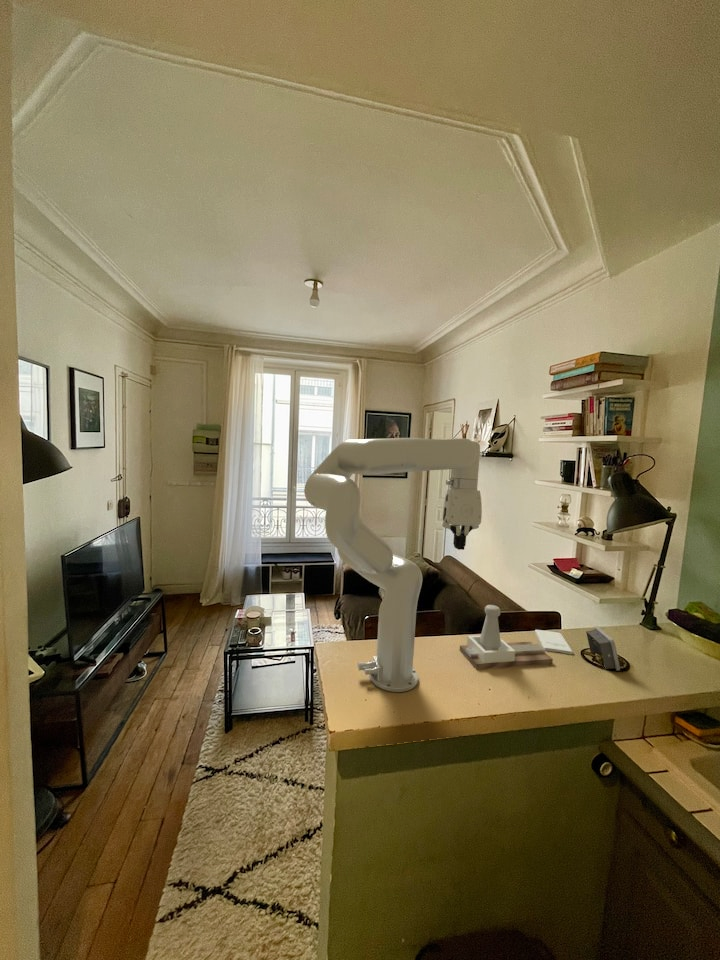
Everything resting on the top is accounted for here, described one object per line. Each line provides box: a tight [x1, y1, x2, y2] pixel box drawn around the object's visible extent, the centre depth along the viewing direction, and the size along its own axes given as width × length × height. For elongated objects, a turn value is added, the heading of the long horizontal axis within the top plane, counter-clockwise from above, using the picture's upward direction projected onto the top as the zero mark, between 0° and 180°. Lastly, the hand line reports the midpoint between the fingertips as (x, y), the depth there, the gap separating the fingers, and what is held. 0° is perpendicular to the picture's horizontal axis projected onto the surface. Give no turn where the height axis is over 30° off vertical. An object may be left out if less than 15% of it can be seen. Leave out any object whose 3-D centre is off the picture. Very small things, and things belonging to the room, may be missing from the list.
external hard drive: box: [534, 629, 574, 655], centre depth 120 cm, size 2×8×12 cm
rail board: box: [459, 641, 553, 670], centre depth 110 cm, size 24×10×2 cm, turn 101°
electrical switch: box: [585, 625, 621, 672], centre depth 109 cm, size 9×5×9 cm, turn 174°
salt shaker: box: [480, 604, 501, 651], centre depth 108 cm, size 6×6×13 cm
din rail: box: [465, 643, 546, 658], centre depth 110 cm, size 24×4×1 cm, turn 101°
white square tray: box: [466, 634, 515, 663], centre depth 109 cm, size 10×10×3 cm
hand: (459, 548), depth 106 cm, fingers closed
